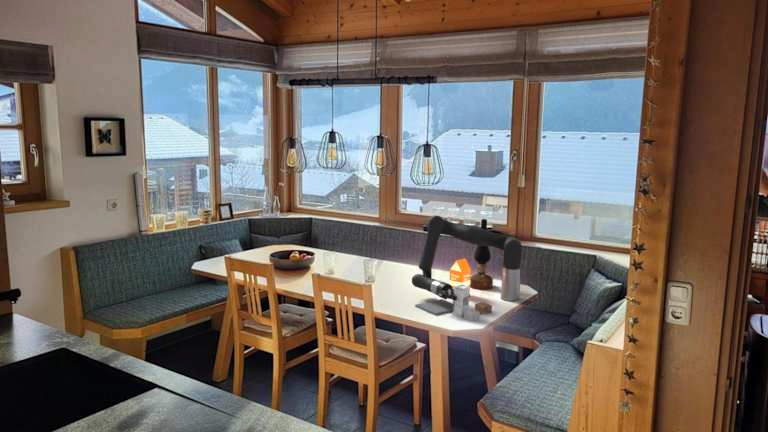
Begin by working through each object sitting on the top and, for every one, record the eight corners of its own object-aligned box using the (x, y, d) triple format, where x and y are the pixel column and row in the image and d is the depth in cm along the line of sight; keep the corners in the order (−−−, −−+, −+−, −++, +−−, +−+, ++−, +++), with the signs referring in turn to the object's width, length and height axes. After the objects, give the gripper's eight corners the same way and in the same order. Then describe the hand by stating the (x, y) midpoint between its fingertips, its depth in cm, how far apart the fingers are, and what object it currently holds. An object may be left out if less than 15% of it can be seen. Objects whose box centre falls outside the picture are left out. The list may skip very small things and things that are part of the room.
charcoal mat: (441, 300, 313) (442, 299, 313) (462, 309, 301) (462, 307, 300) (415, 306, 303) (415, 304, 303) (435, 315, 290) (435, 313, 290)
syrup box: (458, 311, 297) (459, 283, 295) (468, 314, 294) (470, 285, 291) (452, 314, 293) (453, 285, 290) (462, 317, 289) (463, 288, 287)
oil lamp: (467, 288, 349) (457, 221, 347) (493, 284, 349) (482, 217, 347) (471, 293, 335) (460, 223, 333) (498, 288, 335) (487, 218, 333)
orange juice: (448, 295, 324) (450, 259, 320) (458, 291, 330) (459, 256, 327) (460, 298, 319) (462, 262, 315) (469, 295, 325) (471, 259, 322)
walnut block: (483, 309, 302) (484, 302, 301) (491, 313, 297) (492, 305, 296) (474, 311, 299) (475, 303, 298) (482, 314, 293) (482, 307, 293)
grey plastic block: (471, 316, 290) (472, 308, 290) (479, 319, 286) (479, 311, 286) (464, 318, 287) (464, 310, 287) (471, 321, 283) (472, 313, 283)
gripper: (430, 283, 299) (452, 292, 286) (452, 279, 307) (474, 287, 294) (430, 298, 300) (451, 307, 287) (451, 293, 308) (473, 302, 295)
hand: (462, 297), depth 291 cm, fingers open, 8 cm apart
